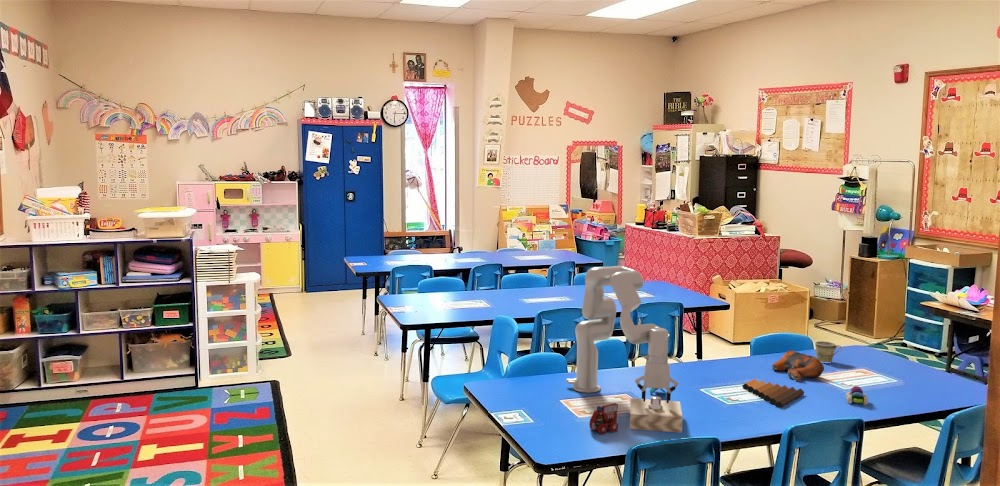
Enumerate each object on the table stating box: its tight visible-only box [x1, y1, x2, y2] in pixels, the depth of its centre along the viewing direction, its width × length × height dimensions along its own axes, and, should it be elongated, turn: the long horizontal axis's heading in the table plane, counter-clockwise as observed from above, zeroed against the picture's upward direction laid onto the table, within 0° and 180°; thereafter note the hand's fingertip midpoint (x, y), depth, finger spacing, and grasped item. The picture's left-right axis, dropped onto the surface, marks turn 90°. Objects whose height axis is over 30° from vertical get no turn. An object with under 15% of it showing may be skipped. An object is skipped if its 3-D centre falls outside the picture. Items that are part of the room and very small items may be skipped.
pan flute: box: [741, 378, 805, 409], centre depth 346 cm, size 25×3×25 cm
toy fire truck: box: [588, 402, 619, 435], centre depth 299 cm, size 7×12×10 cm, turn 117°
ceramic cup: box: [814, 340, 842, 363], centre depth 404 cm, size 13×10×10 cm
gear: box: [649, 388, 667, 396], centre depth 346 cm, size 11×6×10 cm
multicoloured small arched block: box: [845, 385, 869, 406], centre depth 337 cm, size 8×10×7 cm
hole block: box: [629, 397, 683, 433], centre depth 309 cm, size 20×20×6 cm
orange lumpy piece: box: [771, 350, 825, 382], centre depth 381 cm, size 25×13×17 cm
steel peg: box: [650, 395, 662, 410], centre depth 309 cm, size 4×4×10 cm
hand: (655, 401), depth 308 cm, fingers open, 8 cm apart
